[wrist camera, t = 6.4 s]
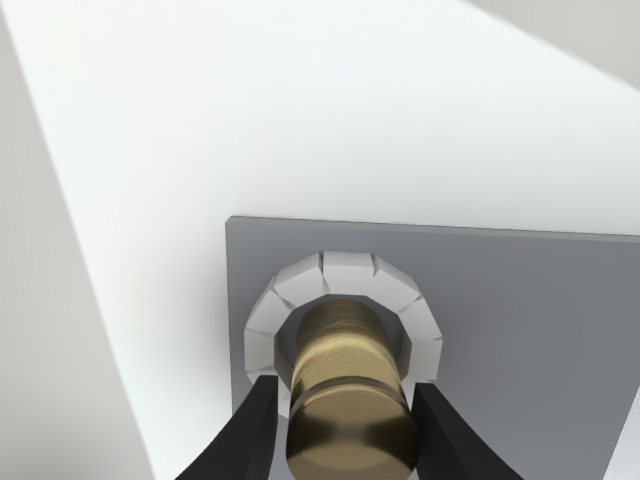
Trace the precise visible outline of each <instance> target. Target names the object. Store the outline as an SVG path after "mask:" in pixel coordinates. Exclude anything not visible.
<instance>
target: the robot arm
mask: <svg viewBox="0 0 640 480" xmlns="http://www.w3.org/2000/svg"><path fill="white" fill-rule="evenodd" d="M411 416H412V419H413V422H414V425H415V428H416V432H417V435H418V438H419V443H420V455H419V460H418V463H417V465H416V471H417V474H418V478H419V480H524V479H523V478H522V477H521V476H520V475H519V474H518V473H516V472H515V471H514V470H513V469H512V468H511V467H510V466H509V465H507V464H506V463H505V462H504V461H503V460H502V459H501V458H500V457H499V456H498V455H497V454H496V453H495V452H494V451H493V450H492V449H491V448H490V447H489V446H488V445H487V444H486V443H485V442H484V441H483V440H482V439H481V438H480V437H479V436H478V435H477V434H476V432H475V431H474V430H473V429H472V428H471V427H470V426H469V425H468V424H467V422H466V421H465V420H464V419H463V418H462V417H461V416H460V414H459V413H458V412H457V411H456V410H455V409H454V407H453V406H452V405H451V404H450V403H449V401H448V400H447V399H446V398H445V397H444V395H443V394H442V393H441V392H440V391H439V389H438V388H437V387H436V386H435V385H434V384H433V383H421V382H415V388H414V394H413V401H412V407H411ZM277 426H278V375H260V376H259V377H258V378H257V379H256V381H255V383H254V385H253V386H252V388H251V390H250V391H249V393H248V395H247V396H246V398H245V399H244V401H243V402H242V403H241V405H240V406H239V408H238V409H237V410H236V412H235V413H234V415H233V416H232V417H231V419H230V420H229V421H228V423H227V424H226V425H225V426H224V427H223V429H222V430H221V431H220V432H219V434H218V435H217V436H216V437H215V438H214V440H213V441H212V442H211V443H210V444H209V445H208V446H207V448H206V449H205V450H204V451H203V452H202V453H201V454H200V455H199V456H198V457H197V458H196V459H195V460H194V461H193V462H192V463H191V464H190V465H189V466H188V467H187V468H186V469H185V470H184V471H183V472H182V473H181V474H180V475H179V476H178V477H177V478H176V479H175V480H268V478H269V473H270V469H271V464H272V460H273V456H274V450H275V442H276V434H277Z"/></svg>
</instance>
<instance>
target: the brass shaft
mask: <svg viewBox="0 0 640 480" xmlns="http://www.w3.org/2000/svg"><path fill="white" fill-rule="evenodd" d="M419 455H420V443H419V438H418V435H417V432H416V428H415V425H414V422H413V419H412V416H411V412H410V409H409V406H408V403H407V399H406V396H405V393H404V390H403V387H402V383H401V380H400V377H399V374H398V370H397V367H396V364H395V361H394V358H393V354H392V351H391V348H390V345H389V341H388V338H387V335H386V332H385V328H384V326H383V323H382V321H381V319H380V318H379V316H378V315H377V314H376V313H375V312H374V311H373V310H372V309H371V308H370V307H368V306H366V305H365V304H363V303H361V302H358V301H355V300H350V299H332V300H328V301H325V302H322V303H320V304H318V305H316V306H315V307H313V308H312V309H311V310H309V311H308V312H307V313H306V314H305V316H304V317H303V318H302V320H301V322H300V324H299V326H298V329H297V335H296V346H295V356H294V366H293V377H292V387H291V398H290V408H289V419H288V429H287V440H286V461H287V464H288V468H289V470H290V472H291V473H292V475H293V476H294V478H295V479H296V480H407V479H408V478H409V477H410V475H411V474H412V473H413V471H414V469H415V467H416V465H417V463H418V460H419Z"/></svg>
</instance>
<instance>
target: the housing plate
mask: <svg viewBox="0 0 640 480" xmlns="http://www.w3.org/2000/svg"><path fill="white" fill-rule="evenodd" d="M225 229H226V256H227V283H228V309H229V336H230V362H231V389H232V416H233V415H234V413H235V412H236V410H237V409H238V408H239V406H240V405H241V403H242V402H243V401H244V399H245V398H246V396H247V395H248V393H249V391H250V390H251V388H252V386H253V385H254V383H255V381H256V379H257V378H258V377H259V376H260V375H278V426H277V434H276V442H275V450H274V456H273V460H272V464H271V469H270V473H269V478H268V480H296V479H295V478H294V476H293V475H292V473H291V472H290V470H289V468H288V464H287V461H286V440H287V429H288V419H289V408H290V398H291V387H292V377H293V366H294V356H295V346H296V335H297V329H298V326H299V324H300V322H301V320H302V318H303V317H304V316H305V314H306V313H307V312H308V311H309V310H311V309H312V308H313V307H315V306H316V305H318V304H320V303H322V302H325V301H328V300H332V299H350V300H355V301H358V302H361V303H363V304H365V305H366V306H368V307H370V308H371V309H372V310H373V311H374V312H375V313H376V314H377V315H378V316H379V318H380V319H381V321H382V323H383V326H384V328H385V332H386V335H387V338H388V341H389V345H390V348H391V351H392V354H393V358H394V361H395V364H396V367H397V370H398V374H399V377H400V380H401V383H402V387H403V390H404V393H405V396H406V399H407V403H408V406H409V409H410V412H411V407H412V401H413V394H414V388H415V382H421V383H433V384H434V385H435V386H436V387H437V388H438V389H439V391H440V392H441V393H442V394H443V395H444V397H445V398H446V399H447V400H448V401H449V403H450V404H451V405H452V406H453V407H454V409H455V410H456V411H457V412H458V413H459V414H460V416H461V417H462V418H463V419H464V420H465V421H466V422H467V424H468V425H469V426H470V427H471V428H472V429H473V430H474V431H475V432H476V434H477V435H478V436H479V437H480V438H481V439H482V440H483V441H484V442H485V443H486V444H487V445H488V446H489V447H490V448H491V449H492V450H493V451H494V452H495V453H496V454H497V455H498V456H499V457H500V458H501V459H502V460H503V461H504V462H505V463H506V464H507V465H509V466H510V467H511V468H512V469H513V470H514V471H515V472H516V473H518V474H519V475H520V476H521V477H522V478H523V479H524V480H603V477H604V475H605V472H606V470H607V467H608V464H609V462H610V459H611V457H612V454H613V452H614V449H615V447H616V444H617V441H618V439H619V436H620V434H621V431H622V429H623V426H624V424H625V421H626V418H627V416H628V413H629V411H630V408H631V406H632V403H633V401H634V398H635V395H636V393H637V390H638V388H639V385H640V236H626V235H606V234H585V233H565V232H544V231H524V230H503V229H482V228H462V227H441V226H421V225H400V224H379V223H359V222H338V221H318V220H297V219H277V218H256V217H235V216H231V217H230V218H229V219H228V220H227V221H226V222H225ZM407 480H419V478H418V474H417V471H416V467H415V469H414V471H413V473H412V474H411V475H410V477H409V478H408V479H407Z"/></svg>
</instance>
